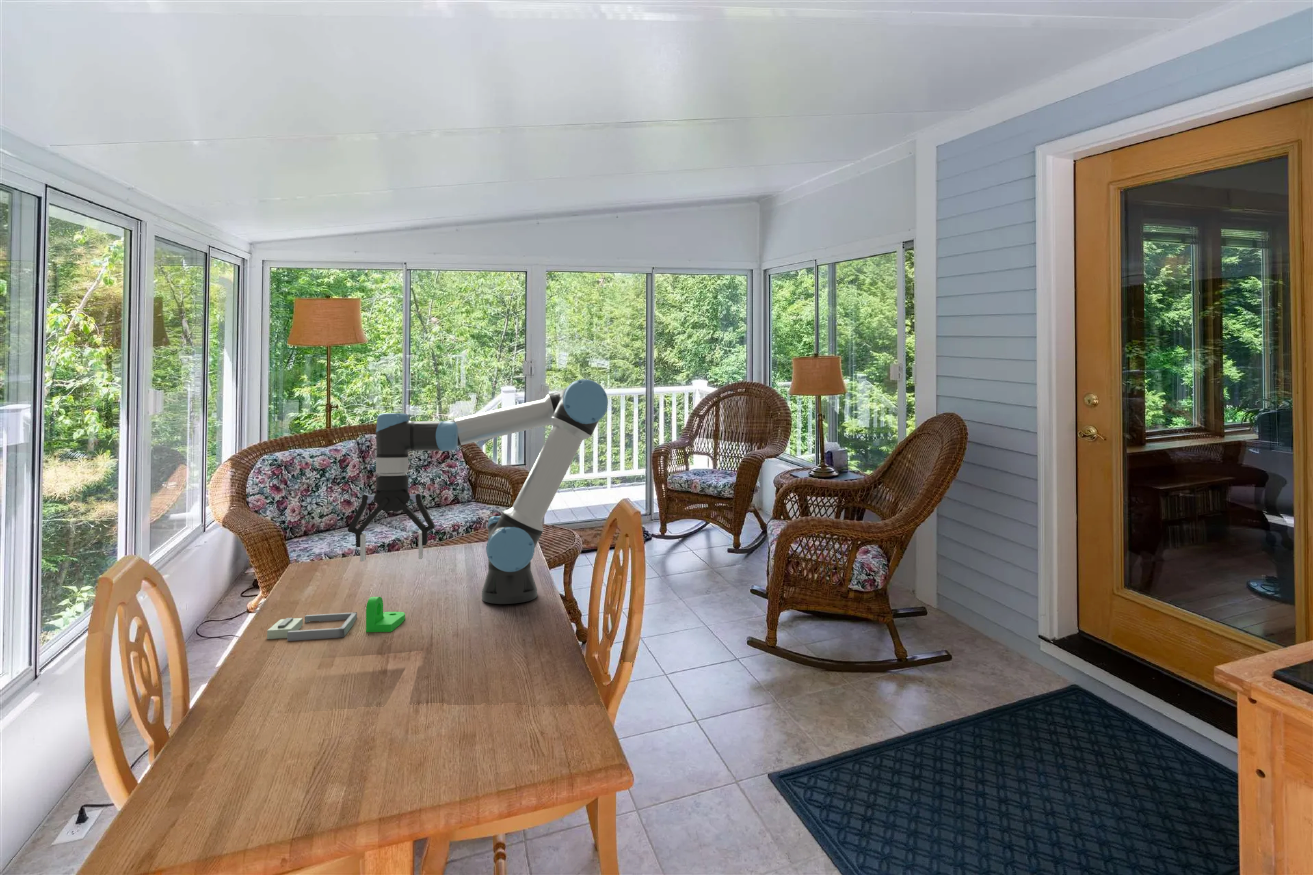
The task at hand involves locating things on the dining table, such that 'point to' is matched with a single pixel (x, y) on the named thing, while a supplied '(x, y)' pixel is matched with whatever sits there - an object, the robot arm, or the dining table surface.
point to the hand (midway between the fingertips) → (392, 559)
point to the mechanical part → (381, 617)
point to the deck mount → (291, 630)
